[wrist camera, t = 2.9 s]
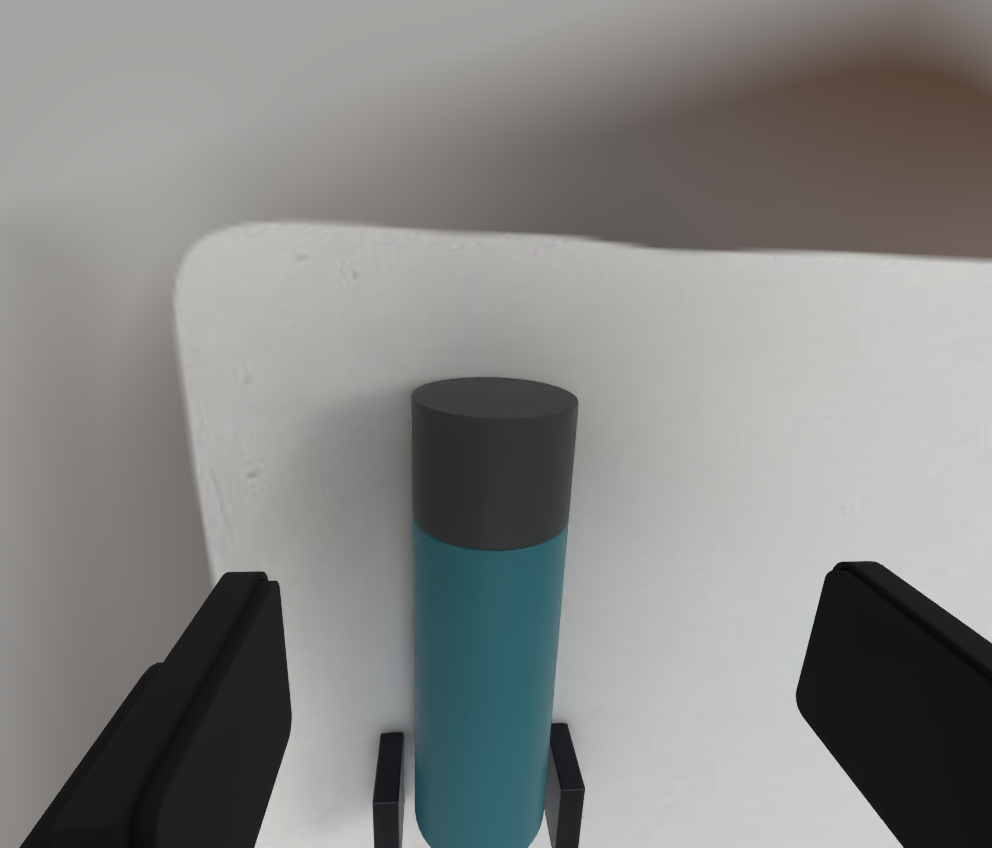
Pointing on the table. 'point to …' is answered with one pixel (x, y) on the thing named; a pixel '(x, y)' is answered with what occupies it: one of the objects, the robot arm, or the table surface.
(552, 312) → the table surface
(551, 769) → the bracket
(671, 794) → the table surface
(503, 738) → the teal capped cylinder
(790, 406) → the table surface
